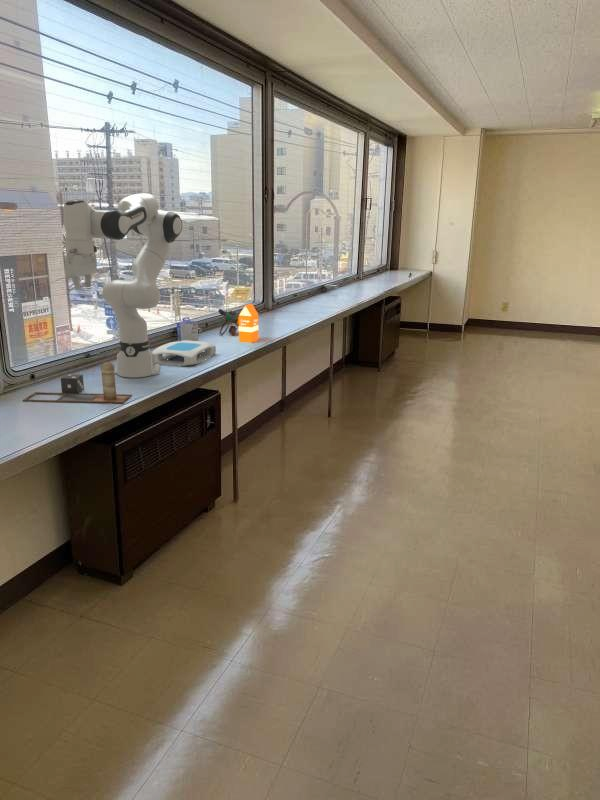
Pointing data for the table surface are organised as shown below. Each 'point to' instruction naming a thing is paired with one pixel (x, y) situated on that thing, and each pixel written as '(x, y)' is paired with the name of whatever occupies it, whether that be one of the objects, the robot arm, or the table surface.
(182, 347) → the white step stool
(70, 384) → the die
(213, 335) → the table surface
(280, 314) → the table surface
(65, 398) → the board
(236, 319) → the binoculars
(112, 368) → the pawn
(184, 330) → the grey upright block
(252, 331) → the orange juice
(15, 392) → the table surface
